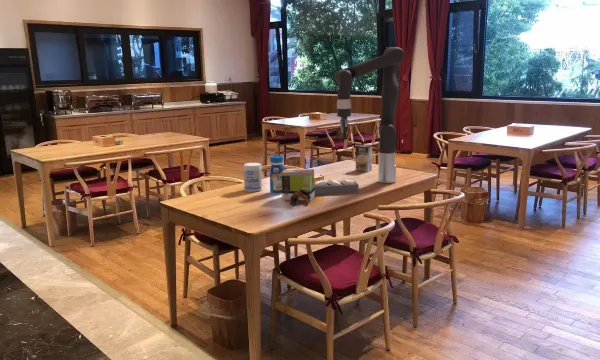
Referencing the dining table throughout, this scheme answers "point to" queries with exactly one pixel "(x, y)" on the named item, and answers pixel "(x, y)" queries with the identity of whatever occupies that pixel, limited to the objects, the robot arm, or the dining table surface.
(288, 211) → the dining table surface
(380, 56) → the robot arm
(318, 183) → the rocker
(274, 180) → the beverage bottle
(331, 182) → the rocker
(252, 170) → the supplement tub
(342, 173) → the dining table surface
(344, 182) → the plate
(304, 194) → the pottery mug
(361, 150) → the coffee box
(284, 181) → the tea box
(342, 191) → the strip housing
